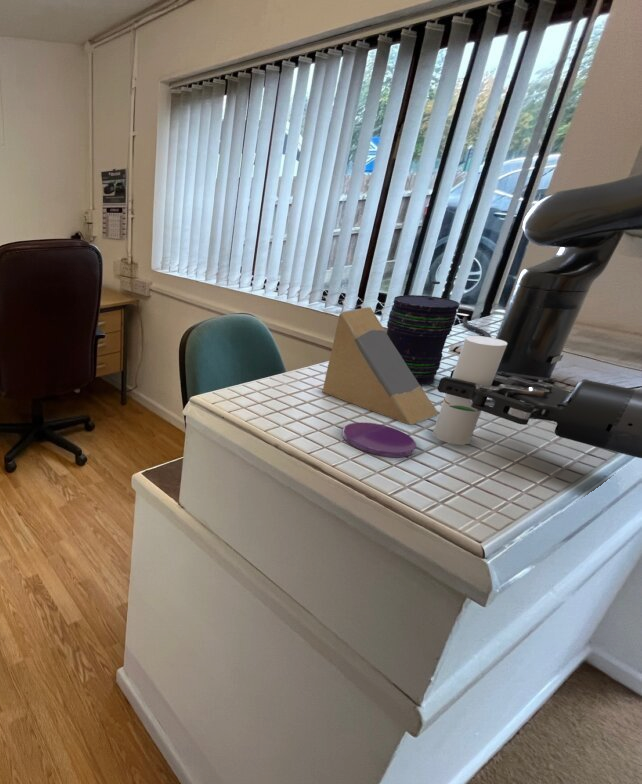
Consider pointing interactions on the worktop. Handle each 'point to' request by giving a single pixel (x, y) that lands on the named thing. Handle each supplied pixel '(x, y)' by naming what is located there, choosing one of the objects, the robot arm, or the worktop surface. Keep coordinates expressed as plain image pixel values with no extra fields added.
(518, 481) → the worktop surface
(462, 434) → the tube
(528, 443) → the worktop surface
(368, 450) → the purple disc
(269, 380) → the worktop surface
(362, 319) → the sandwich container
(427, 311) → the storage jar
